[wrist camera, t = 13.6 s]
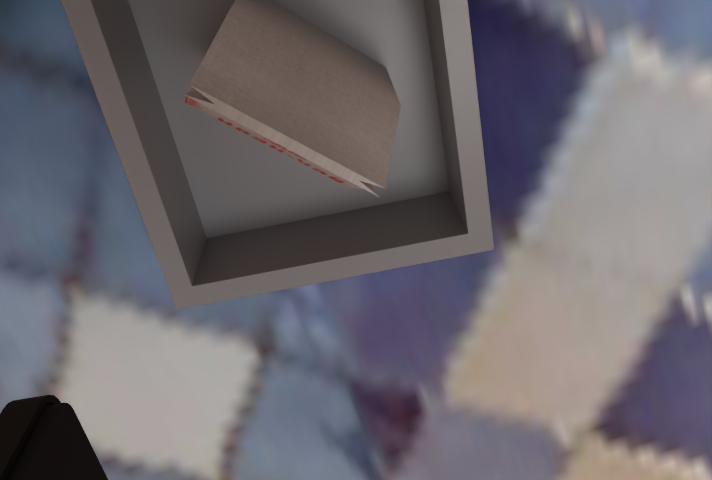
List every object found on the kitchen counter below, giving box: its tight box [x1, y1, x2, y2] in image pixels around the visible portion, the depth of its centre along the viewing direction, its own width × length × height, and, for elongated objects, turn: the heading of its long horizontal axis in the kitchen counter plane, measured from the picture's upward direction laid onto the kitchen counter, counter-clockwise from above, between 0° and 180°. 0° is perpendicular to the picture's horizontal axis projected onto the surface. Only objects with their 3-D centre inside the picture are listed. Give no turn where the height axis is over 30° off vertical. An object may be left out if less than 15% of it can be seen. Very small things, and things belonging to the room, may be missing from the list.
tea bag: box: [184, 0, 401, 197], centre depth 25 cm, size 4×7×10 cm, turn 59°
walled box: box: [61, 0, 494, 310], centre depth 28 cm, size 16×14×6 cm
